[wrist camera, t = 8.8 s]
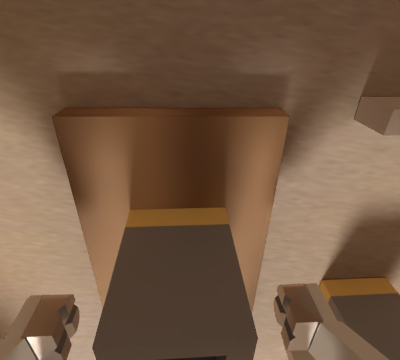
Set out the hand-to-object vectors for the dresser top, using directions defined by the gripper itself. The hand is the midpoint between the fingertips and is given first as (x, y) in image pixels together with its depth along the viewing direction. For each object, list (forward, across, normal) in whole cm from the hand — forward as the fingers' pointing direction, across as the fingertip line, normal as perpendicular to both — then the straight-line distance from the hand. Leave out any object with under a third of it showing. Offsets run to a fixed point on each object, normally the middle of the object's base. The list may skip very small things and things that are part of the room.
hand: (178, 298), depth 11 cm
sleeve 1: (+3, 0, 0) cm, 3 cm away
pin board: (+4, 0, +4) cm, 6 cm away
